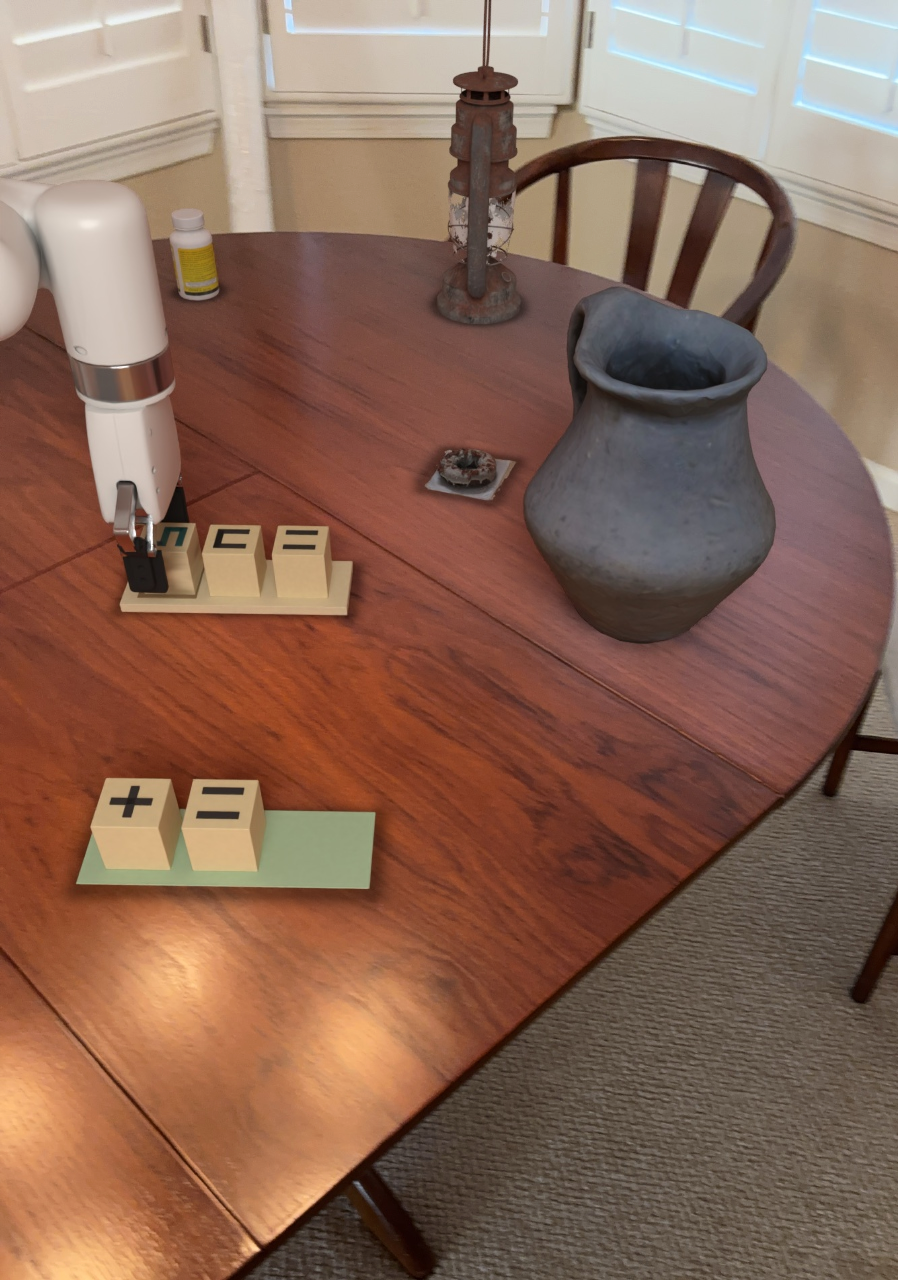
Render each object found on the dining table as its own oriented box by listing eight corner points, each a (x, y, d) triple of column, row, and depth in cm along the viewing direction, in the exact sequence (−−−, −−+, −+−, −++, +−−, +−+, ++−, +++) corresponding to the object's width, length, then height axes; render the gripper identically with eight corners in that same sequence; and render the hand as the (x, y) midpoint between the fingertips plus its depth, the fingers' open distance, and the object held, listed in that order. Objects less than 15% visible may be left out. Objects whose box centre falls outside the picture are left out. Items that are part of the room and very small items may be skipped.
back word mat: (121, 613, 93) (107, 559, 89) (138, 566, 98) (125, 514, 94) (347, 616, 93) (343, 563, 89) (353, 570, 98) (349, 517, 94)
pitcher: (610, 714, 85) (658, 424, 67) (465, 578, 97) (472, 301, 79) (796, 630, 92) (885, 349, 74) (639, 513, 105) (682, 247, 86)
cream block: (144, 594, 93) (133, 550, 90) (154, 564, 96) (144, 521, 93) (195, 595, 93) (186, 551, 90) (204, 565, 96) (195, 521, 93)
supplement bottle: (228, 293, 140) (217, 213, 132) (195, 305, 137) (182, 224, 130) (203, 282, 142) (191, 202, 135) (170, 293, 140) (156, 213, 132)
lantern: (430, 332, 132) (429, -15, 106) (442, 280, 143) (444, -46, 117) (517, 336, 132) (538, -11, 106) (523, 284, 143) (542, -43, 117)
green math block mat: (79, 892, 72) (57, 839, 68) (103, 816, 77) (84, 762, 73) (370, 897, 72) (366, 844, 68) (376, 820, 77) (372, 767, 73)
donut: (446, 450, 113) (446, 432, 111) (516, 463, 111) (517, 445, 109) (419, 490, 107) (419, 472, 106) (492, 504, 106) (493, 486, 104)
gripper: (100, 318, 86) (139, 503, 99) (42, 422, 75) (95, 617, 87) (192, 321, 86) (219, 505, 99) (148, 425, 75) (186, 619, 87)
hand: (161, 557), depth 93 cm, fingers open, 9 cm apart
